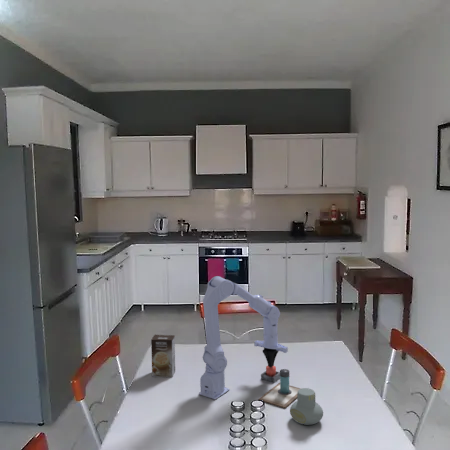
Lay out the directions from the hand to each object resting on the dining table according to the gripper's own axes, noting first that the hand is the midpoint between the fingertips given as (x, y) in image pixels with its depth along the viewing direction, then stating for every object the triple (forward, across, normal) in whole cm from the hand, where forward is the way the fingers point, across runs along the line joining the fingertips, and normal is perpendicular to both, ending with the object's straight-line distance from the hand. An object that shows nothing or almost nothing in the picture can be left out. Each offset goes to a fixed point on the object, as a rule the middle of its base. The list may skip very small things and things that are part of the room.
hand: (270, 366), depth 179 cm
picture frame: (+5, -11, +11) cm, 16 cm away
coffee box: (+5, +40, +21) cm, 45 cm away
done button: (+4, 0, 0) cm, 4 cm away
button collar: (+5, 0, 0) cm, 5 cm away
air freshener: (+5, -26, +22) cm, 34 cm away
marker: (+4, -11, +9) cm, 15 cm away
